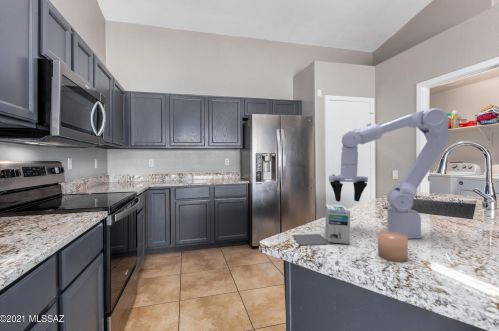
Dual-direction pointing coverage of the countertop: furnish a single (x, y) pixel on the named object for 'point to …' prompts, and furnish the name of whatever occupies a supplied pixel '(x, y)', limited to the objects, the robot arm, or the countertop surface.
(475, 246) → the countertop surface
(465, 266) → the countertop surface
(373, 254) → the countertop surface
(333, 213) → the light bulb box
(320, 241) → the flat gray square
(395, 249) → the tan rounded cylinder
